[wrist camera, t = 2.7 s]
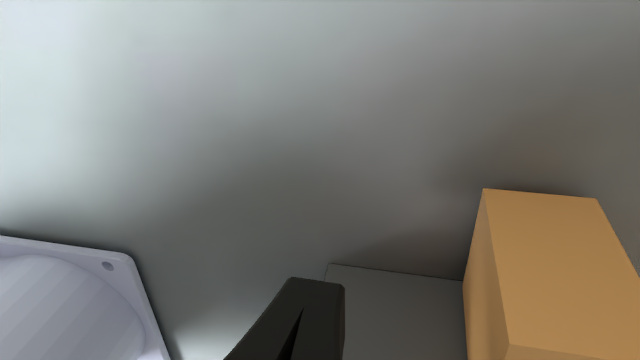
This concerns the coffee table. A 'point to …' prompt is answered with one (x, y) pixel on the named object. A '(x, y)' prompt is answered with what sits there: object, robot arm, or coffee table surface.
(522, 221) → the tan l-shaped bracket
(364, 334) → the block
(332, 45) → the coffee table surface
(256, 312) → the coffee table surface
